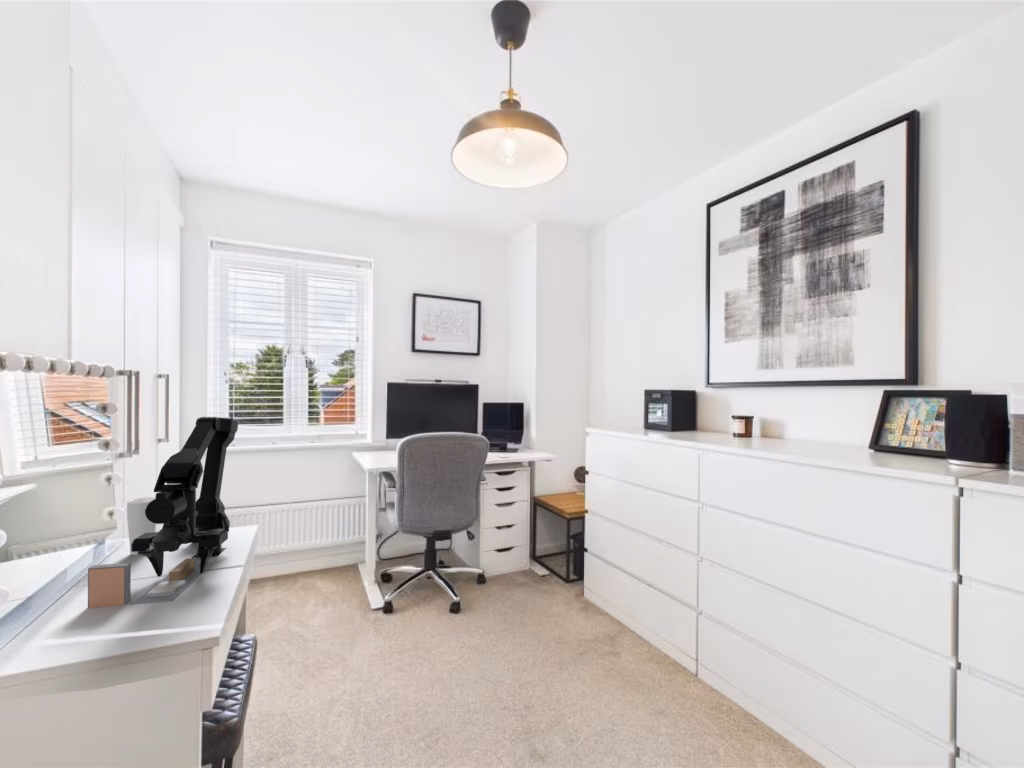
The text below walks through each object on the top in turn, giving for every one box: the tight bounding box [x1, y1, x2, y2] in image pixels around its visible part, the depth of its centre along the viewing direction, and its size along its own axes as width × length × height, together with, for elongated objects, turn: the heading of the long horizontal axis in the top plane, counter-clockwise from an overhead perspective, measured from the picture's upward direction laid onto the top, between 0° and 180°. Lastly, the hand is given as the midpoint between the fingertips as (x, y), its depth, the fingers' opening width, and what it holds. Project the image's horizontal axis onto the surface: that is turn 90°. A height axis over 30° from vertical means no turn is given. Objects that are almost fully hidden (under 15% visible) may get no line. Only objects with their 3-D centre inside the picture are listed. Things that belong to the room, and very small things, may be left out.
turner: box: [147, 557, 196, 597], centre depth 108 cm, size 14×5×3 cm, turn 12°
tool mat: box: [131, 561, 217, 605], centre depth 109 cm, size 22×8×1 cm, turn 12°
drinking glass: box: [126, 496, 157, 556], centre depth 127 cm, size 7×7×15 cm
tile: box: [87, 562, 132, 609], centre depth 97 cm, size 2×7×9 cm, turn 102°
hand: (181, 574), depth 110 cm, fingers open, 9 cm apart
